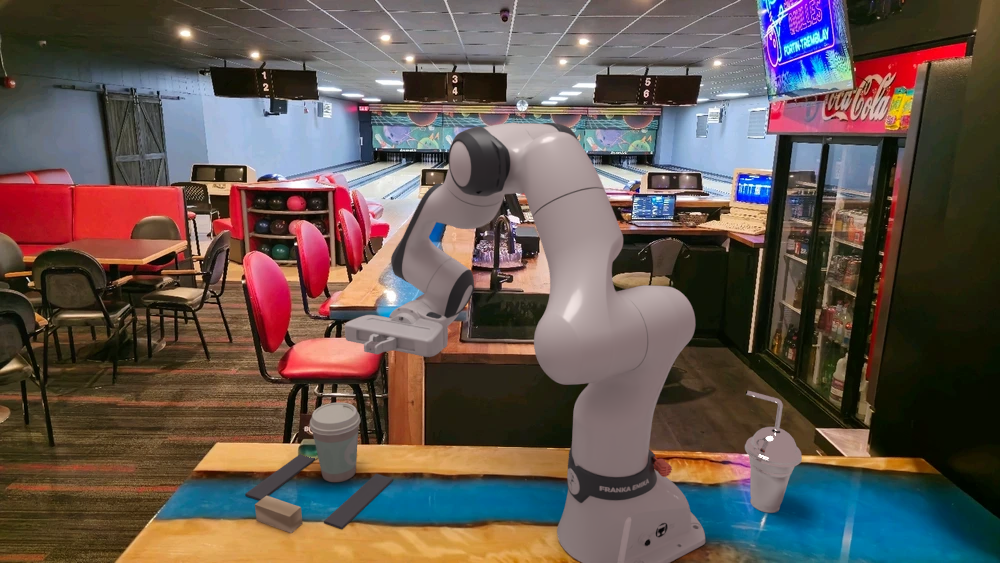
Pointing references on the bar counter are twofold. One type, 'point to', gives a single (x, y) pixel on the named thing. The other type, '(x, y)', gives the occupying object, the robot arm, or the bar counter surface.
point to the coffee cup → (336, 440)
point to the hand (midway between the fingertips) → (370, 349)
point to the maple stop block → (278, 514)
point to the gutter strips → (338, 516)
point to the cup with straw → (770, 462)
